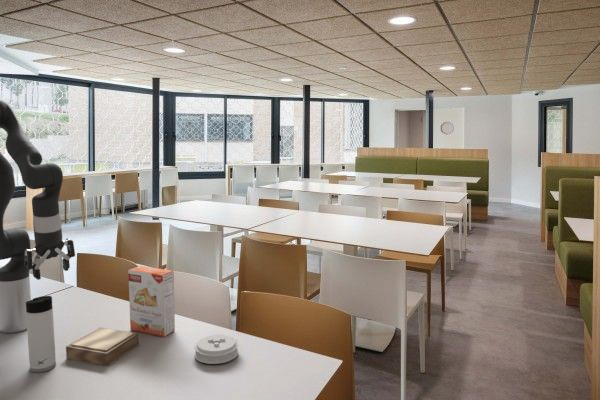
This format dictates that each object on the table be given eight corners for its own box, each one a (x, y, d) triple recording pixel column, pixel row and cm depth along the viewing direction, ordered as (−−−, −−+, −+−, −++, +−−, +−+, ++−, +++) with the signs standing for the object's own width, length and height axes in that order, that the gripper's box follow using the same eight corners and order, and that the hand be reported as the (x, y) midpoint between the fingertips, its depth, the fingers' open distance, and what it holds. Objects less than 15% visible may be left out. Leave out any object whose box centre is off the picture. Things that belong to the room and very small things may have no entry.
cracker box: (129, 330, 148) (127, 269, 145) (142, 324, 153) (140, 264, 150) (163, 338, 142) (162, 274, 140) (175, 331, 148) (174, 269, 145)
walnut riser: (66, 358, 128) (65, 345, 128) (100, 338, 142) (100, 326, 141) (107, 365, 124) (106, 352, 124) (138, 344, 138) (138, 332, 137)
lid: (245, 350, 135) (245, 334, 135) (225, 370, 123) (225, 353, 123) (208, 343, 139) (208, 328, 139) (185, 362, 128) (185, 345, 127)
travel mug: (45, 374, 119) (41, 302, 117) (24, 371, 121) (19, 300, 118) (62, 363, 125) (58, 294, 123) (41, 360, 127) (37, 292, 124)
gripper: (65, 218, 145) (68, 263, 150) (17, 229, 134) (22, 277, 139) (76, 225, 141) (80, 271, 146) (28, 236, 130) (33, 286, 135)
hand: (52, 274), depth 143 cm, fingers open, 8 cm apart
